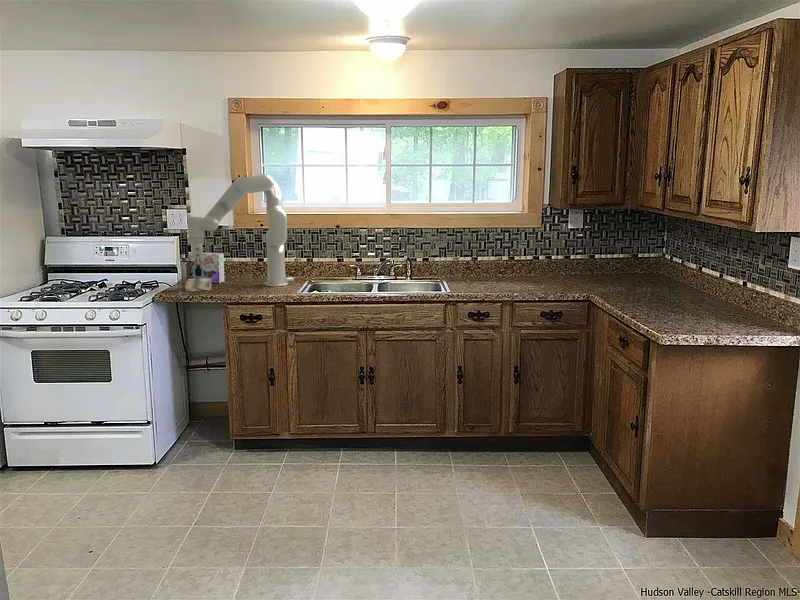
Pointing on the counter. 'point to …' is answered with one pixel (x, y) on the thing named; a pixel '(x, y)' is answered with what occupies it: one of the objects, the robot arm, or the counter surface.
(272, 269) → the robot arm
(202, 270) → the teal block
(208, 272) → the candy box
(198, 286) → the birch block
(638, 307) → the counter surface
